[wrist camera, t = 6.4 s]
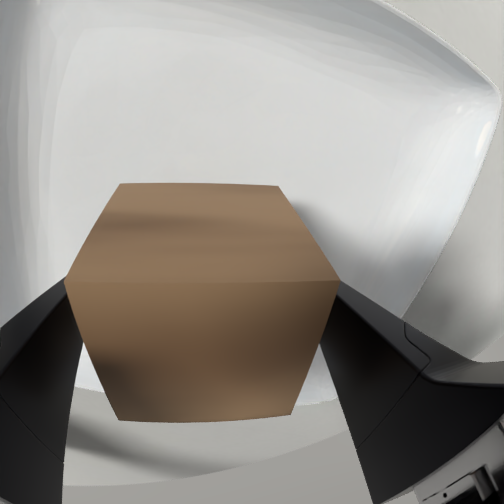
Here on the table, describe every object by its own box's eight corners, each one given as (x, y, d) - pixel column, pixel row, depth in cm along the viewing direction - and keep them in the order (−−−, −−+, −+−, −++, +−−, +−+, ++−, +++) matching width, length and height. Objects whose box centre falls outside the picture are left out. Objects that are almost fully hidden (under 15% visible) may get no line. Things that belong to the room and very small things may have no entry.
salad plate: (27, 337, 16) (11, 377, 13) (40, -36, 6) (3, -56, 3) (324, 369, 22) (338, 406, 19) (461, 81, 12) (509, 92, 9)
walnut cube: (260, 305, 12) (290, 414, 8) (134, 306, 11) (118, 420, 7) (278, 185, 10) (340, 280, 6) (120, 183, 9) (63, 281, 5)
